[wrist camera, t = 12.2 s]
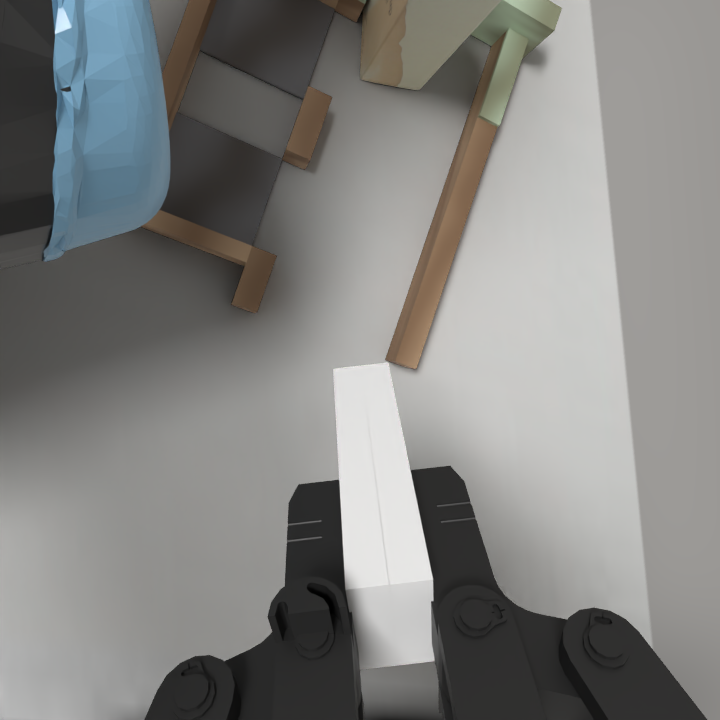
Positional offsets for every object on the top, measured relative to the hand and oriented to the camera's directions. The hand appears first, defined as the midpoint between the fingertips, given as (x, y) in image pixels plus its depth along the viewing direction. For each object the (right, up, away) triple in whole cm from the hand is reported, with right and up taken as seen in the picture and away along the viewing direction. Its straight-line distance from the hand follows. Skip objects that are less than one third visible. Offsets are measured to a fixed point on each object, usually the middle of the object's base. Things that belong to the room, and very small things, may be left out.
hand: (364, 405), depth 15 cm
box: (+2, +21, +20) cm, 29 cm away
